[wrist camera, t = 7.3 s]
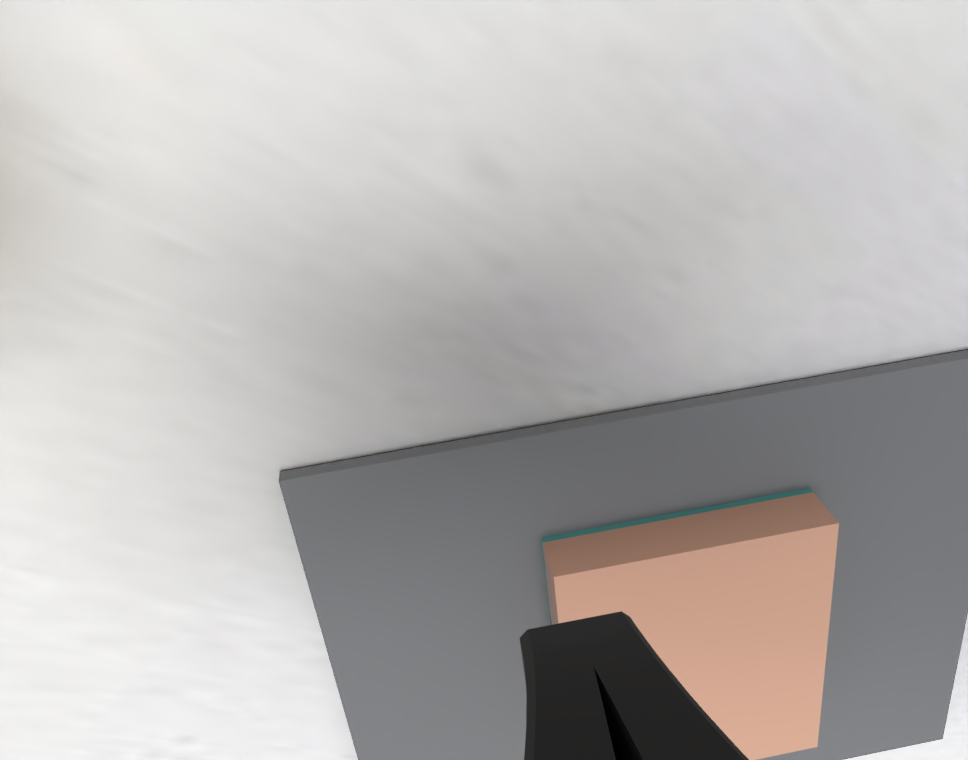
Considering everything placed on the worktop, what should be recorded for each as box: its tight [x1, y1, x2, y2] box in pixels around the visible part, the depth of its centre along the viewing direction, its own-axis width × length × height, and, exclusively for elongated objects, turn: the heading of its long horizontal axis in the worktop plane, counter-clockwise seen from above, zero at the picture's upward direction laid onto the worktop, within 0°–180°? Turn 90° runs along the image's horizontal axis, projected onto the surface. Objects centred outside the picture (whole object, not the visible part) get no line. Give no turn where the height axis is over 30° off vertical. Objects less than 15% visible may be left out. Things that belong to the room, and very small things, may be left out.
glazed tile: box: [541, 488, 839, 760], centre depth 23 cm, size 2×8×7 cm
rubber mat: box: [279, 350, 968, 760], centre depth 24 cm, size 18×14×1 cm
